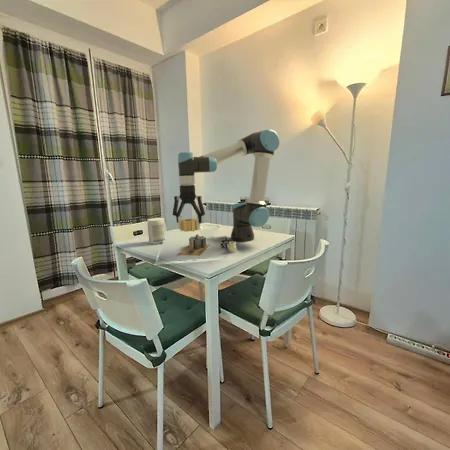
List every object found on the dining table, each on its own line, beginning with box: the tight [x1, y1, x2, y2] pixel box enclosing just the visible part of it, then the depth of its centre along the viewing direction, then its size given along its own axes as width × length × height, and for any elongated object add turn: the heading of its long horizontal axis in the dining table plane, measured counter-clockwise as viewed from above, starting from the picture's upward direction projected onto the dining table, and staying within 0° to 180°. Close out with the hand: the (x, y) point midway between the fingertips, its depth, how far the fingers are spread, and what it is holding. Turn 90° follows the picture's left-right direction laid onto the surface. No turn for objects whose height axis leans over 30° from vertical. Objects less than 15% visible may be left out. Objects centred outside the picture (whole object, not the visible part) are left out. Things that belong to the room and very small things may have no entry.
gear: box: [188, 235, 207, 249], centre depth 139 cm, size 9×9×5 cm
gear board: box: [177, 233, 211, 257], centre depth 135 cm, size 12×20×8 cm, turn 168°
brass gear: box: [180, 218, 198, 233], centre depth 128 cm, size 9×9×5 cm
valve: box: [219, 237, 237, 254], centre depth 133 cm, size 7×7×12 cm
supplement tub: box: [146, 217, 166, 245], centre depth 155 cm, size 10×10×15 cm
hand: (189, 229), depth 129 cm, fingers closed on brass gear, 9 cm apart
